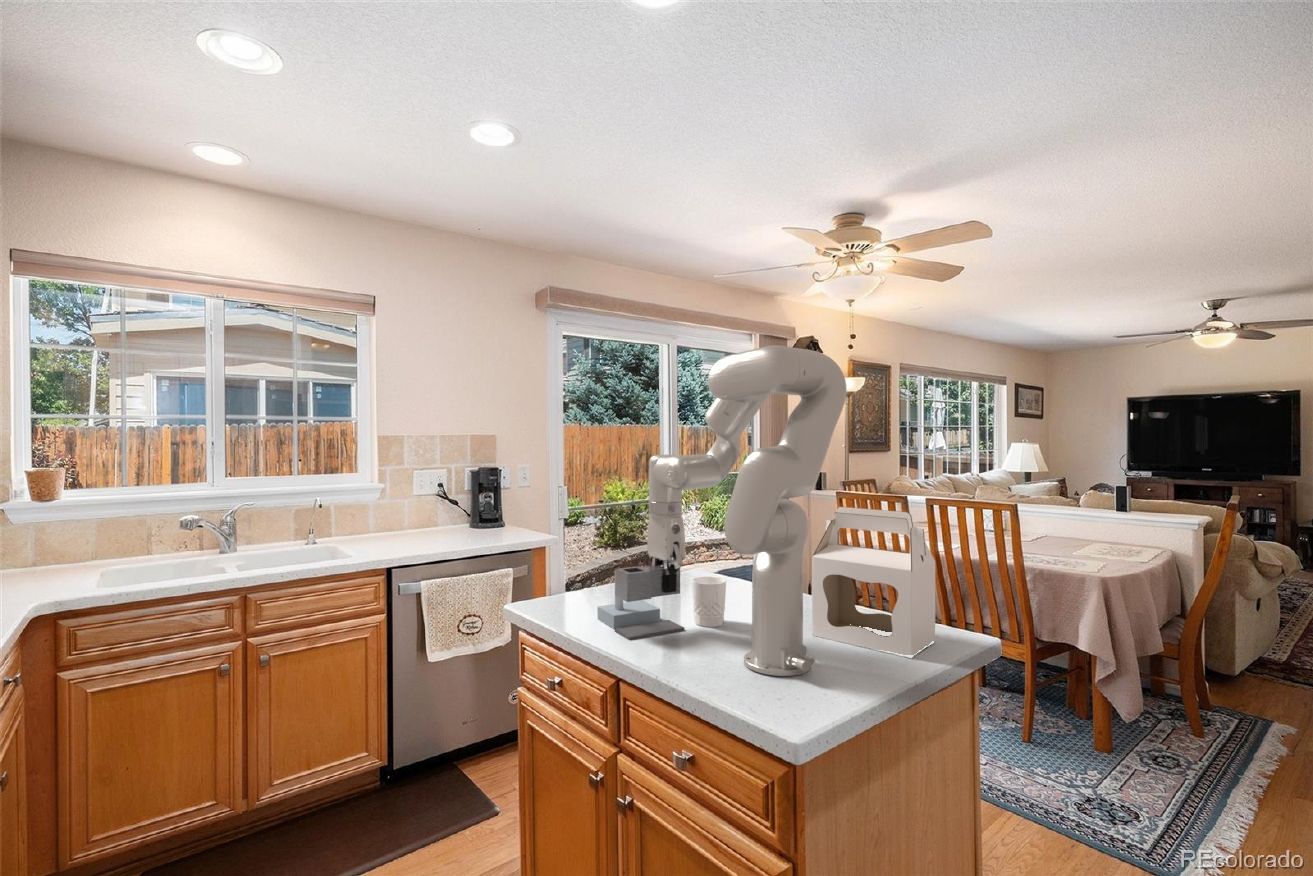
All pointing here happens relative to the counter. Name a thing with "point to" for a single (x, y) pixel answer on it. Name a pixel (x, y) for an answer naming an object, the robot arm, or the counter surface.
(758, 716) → the counter surface
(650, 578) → the block
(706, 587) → the white cup
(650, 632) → the mat
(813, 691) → the counter surface
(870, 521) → the gable box
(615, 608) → the grey peg stand
